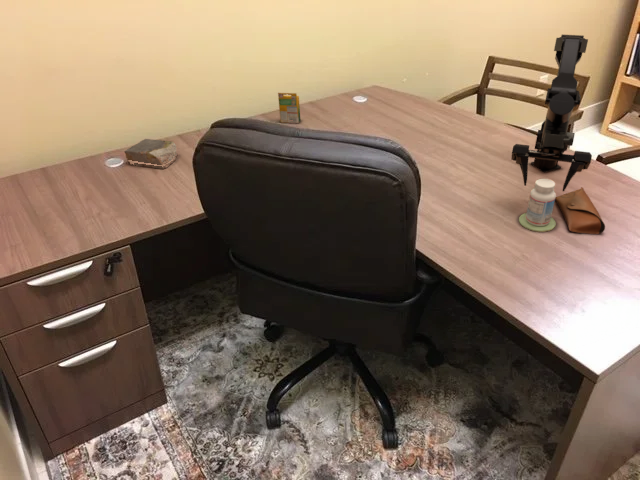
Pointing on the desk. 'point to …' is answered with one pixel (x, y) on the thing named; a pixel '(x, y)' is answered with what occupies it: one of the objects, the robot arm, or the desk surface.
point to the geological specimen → (152, 153)
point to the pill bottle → (541, 202)
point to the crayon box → (289, 107)
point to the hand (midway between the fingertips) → (544, 188)
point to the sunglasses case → (580, 212)
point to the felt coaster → (536, 228)
